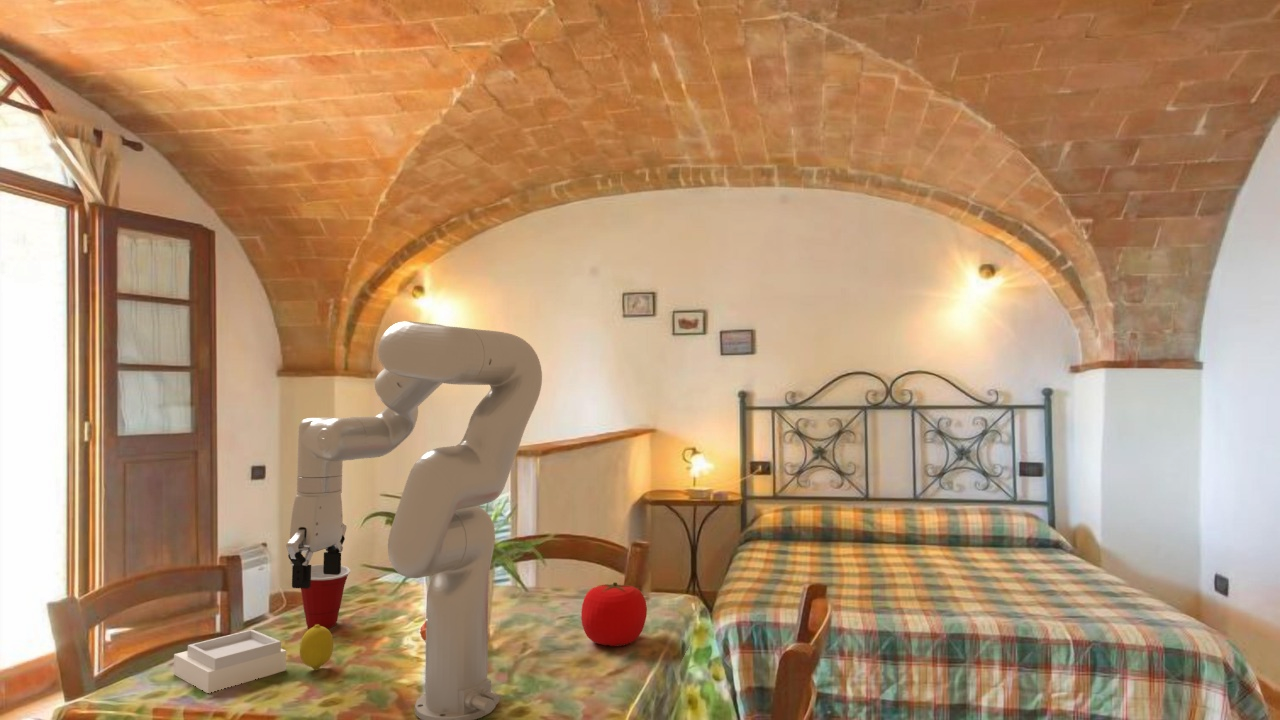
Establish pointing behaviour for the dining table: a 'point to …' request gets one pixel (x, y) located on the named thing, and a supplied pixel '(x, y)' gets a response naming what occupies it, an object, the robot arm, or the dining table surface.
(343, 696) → the dining table surface
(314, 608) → the plastic cup
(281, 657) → the scale
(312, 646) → the lemon
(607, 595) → the tomato
